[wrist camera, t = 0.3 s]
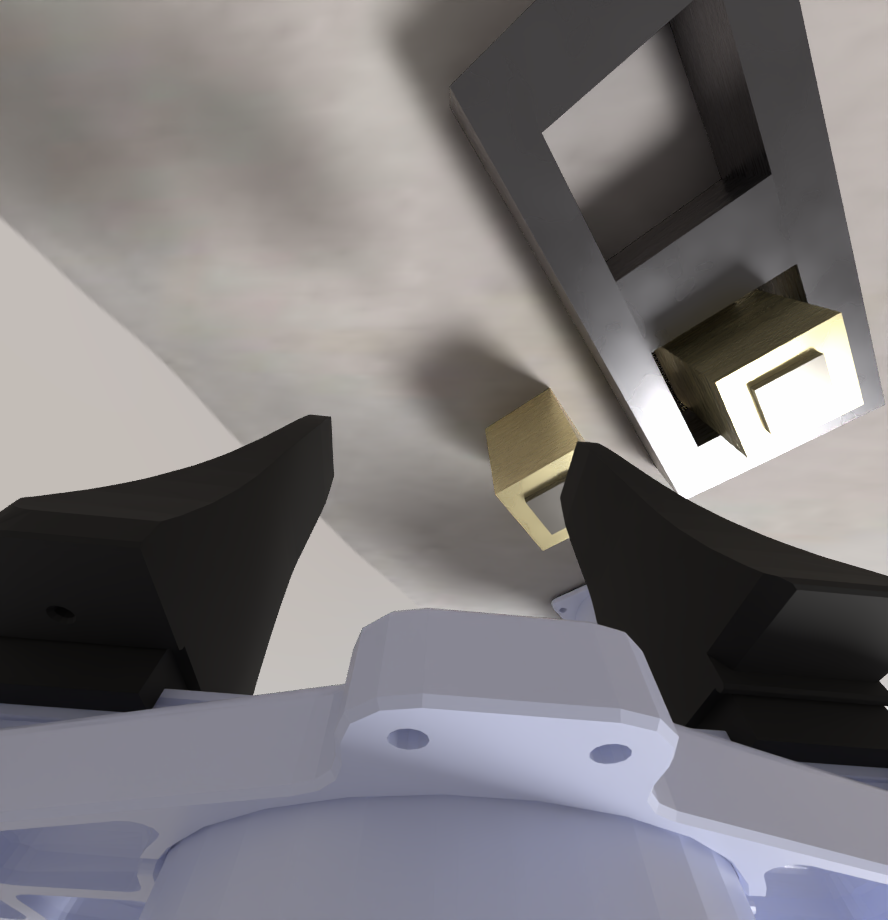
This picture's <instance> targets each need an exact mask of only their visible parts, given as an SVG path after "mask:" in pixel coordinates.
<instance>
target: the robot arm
mask: <svg viewBox="0 0 888 920" xmlns="http://www.w3.org/2000/svg"><path fill="white" fill-rule="evenodd" d="M333 477H334V468H333V447H332V426H331V417H328V416H318V415H308V416H305V417H303V418H300V419H298V420H296V421H294V422H292V423H290V424H288V425H286V426H285V427H283V428H281V429H279V430H277V431H275V432H273V433H271V434H269V435H267V436H265V437H263V438H261V439H259V440H256V441H254V442H252V443H250V444H248V445H245V446H243V447H241V448H239V449H237V450H234V451H232V452H230V453H227V454H225V455H222V456H220V457H217V458H214V459H212V460H209V461H206V462H203V463H200V464H197V465H194V466H191V467H187V468H184V469H180V470H176V471H172V472H169V473H165V474H161V475H158V476H154V477H150V478H146V479H141V480H137V481H132V482H127V483H122V484H117V485H111V486H106V487H100V488H94V489H88V490H81V491H73V492H66V493H58V494H50V495H43V496H34V497H24V498H20V499H18V500H17V501H15V502H14V503H12V504H11V505H9V506H8V507H6V508H5V509H4V510H2V511H1V512H0V920H888V710H887V709H886V708H885V707H884V706H888V690H887V689H886V688H885V687H884V686H883V685H882V684H881V683H880V682H879V680H881V679H882V678H883V677H884V676H885V675H886V674H887V673H888V576H886V575H883V574H880V573H876V572H873V571H869V570H866V569H863V568H859V567H856V566H852V565H849V564H846V563H842V562H839V561H835V560H832V559H829V558H825V557H822V556H819V555H816V554H813V553H810V552H808V551H805V550H802V549H799V548H796V547H793V546H790V545H788V544H785V543H782V542H779V541H777V540H774V539H772V538H769V537H766V536H764V535H761V534H759V533H757V532H754V531H752V530H750V529H747V528H745V527H743V526H740V525H738V524H736V523H733V522H731V521H729V520H727V519H725V518H723V517H720V516H718V515H716V514H714V513H712V512H711V511H709V510H707V509H705V508H703V507H701V506H699V505H697V504H695V503H693V502H691V501H689V500H688V499H686V498H684V497H682V496H681V495H679V494H677V493H676V492H674V491H672V490H671V489H669V488H667V487H666V486H664V485H662V484H661V483H659V482H658V481H656V480H655V479H653V478H652V477H650V476H648V475H647V474H645V473H644V472H642V471H641V470H639V469H638V468H637V467H635V466H634V465H632V464H631V463H629V462H628V461H626V460H625V459H623V458H622V457H620V456H619V455H617V454H616V453H614V452H613V451H611V450H609V449H608V448H606V447H604V446H602V445H600V444H598V443H591V442H581V441H577V443H576V446H575V450H574V453H573V456H572V459H571V463H570V466H569V469H568V472H567V476H566V479H565V482H564V486H563V489H562V492H561V495H560V501H561V507H562V512H563V517H564V522H565V526H566V529H567V532H568V535H569V538H570V541H571V543H572V546H573V549H574V552H575V554H576V557H577V560H578V563H579V565H580V568H581V571H582V574H583V576H584V579H585V582H586V585H584V586H582V587H580V588H578V589H575V590H573V591H571V592H569V593H566V594H564V595H562V596H560V597H557V598H555V599H554V600H553V601H552V603H551V604H552V607H553V609H554V610H555V611H556V612H557V613H558V614H559V616H560V617H561V618H562V619H553V618H541V617H529V616H518V615H506V614H494V613H482V612H470V611H458V610H446V609H434V608H423V609H412V610H401V611H393V612H391V613H389V614H387V615H385V616H383V617H381V618H380V619H378V620H376V621H375V622H373V623H371V624H369V625H367V626H365V627H363V628H362V630H361V633H360V635H359V638H358V640H357V642H356V644H355V647H354V649H353V653H352V657H351V662H350V666H349V670H348V674H347V679H346V683H345V684H340V685H331V686H324V687H316V688H308V689H300V690H293V691H285V692H277V693H270V694H262V695H253V693H254V690H255V686H256V682H257V679H258V676H259V673H260V669H261V666H262V663H263V659H264V656H265V653H266V650H267V646H268V643H269V640H270V636H271V634H272V630H273V627H274V624H275V621H276V618H277V615H278V612H279V609H280V606H281V603H282V600H283V598H284V594H285V592H286V589H287V586H288V583H289V580H290V578H291V575H292V572H293V570H294V568H295V565H296V563H297V561H298V559H299V557H300V555H301V553H302V551H303V549H304V547H305V545H306V543H307V540H308V539H309V537H310V534H311V532H312V530H313V528H314V526H315V524H316V522H317V520H318V518H319V516H320V514H321V512H322V510H323V507H324V505H325V503H326V500H327V497H328V494H329V491H330V487H331V484H332V481H333Z"/></svg>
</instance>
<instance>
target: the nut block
mask: <svg viewBox="0 0 888 920" xmlns="http://www.w3.org/2000/svg"><path fill="white" fill-rule="evenodd" d="M485 432H486V438H487V445H488V451H489V458H490V464H491V471H492V477H493V484H494V490H495V495H496V496H497V498H498V499H499V500H500V501H501V502H502V503H503V505H504V506H505V507H506V508H507V509H508V511H509V512H510V513H511V514H512V515H513V516H514V518H515V519H516V520H517V521H518V522H519V524H520V525H521V526H522V527H523V528H524V529H525V531H526V532H527V533H528V534H529V535H530V536H531V538H532V539H533V540H534V541H535V542H536V544H537V545H538V546H539V547H540V548H541V549H542V551H544V550H546V549H548V548H550V547H552V546H554V545H556V544H558V543H560V542H562V541H564V540H566V539H568V538H569V535H568V532H567V529H566V526H565V522H564V517H563V512H562V507H561V501H560V495H561V492H562V489H563V486H564V482H565V479H566V476H567V472H568V469H569V466H570V463H571V459H572V456H573V453H574V450H575V446H576V443H577V441H581V442H585V441H584V439H583V438H582V436H581V435H580V433H579V432H578V430H577V429H576V427H575V426H574V424H573V423H572V421H571V419H570V418H569V416H568V415H567V413H566V412H565V410H564V409H563V407H562V406H561V404H560V403H559V401H558V400H557V398H556V397H555V395H554V393H553V392H552V390H551V389H550V388H549V389H547V390H546V391H544V392H543V393H541V394H540V395H538V396H536V397H535V398H533V399H532V400H530V401H529V402H527V403H525V404H524V405H522V406H521V407H519V408H518V409H516V410H514V411H513V412H511V413H510V414H508V415H507V416H505V417H503V418H502V419H500V420H499V421H497V422H496V423H494V424H492V425H491V426H489V427H488V428H486V429H485Z"/></svg>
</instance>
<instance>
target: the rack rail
mask: <svg viewBox="0 0 888 920" xmlns="http://www.w3.org/2000/svg"><path fill="white" fill-rule="evenodd" d="M668 22H670V25H671V28H672V31H673V34H674V37H675V40H676V43H677V46H678V49H679V52H680V55H681V58H682V61H683V64H684V67H685V70H686V73H687V76H688V79H689V82H690V85H691V88H692V91H693V94H694V97H695V100H696V103H697V106H698V109H699V112H700V115H701V118H702V121H703V124H704V127H705V130H706V133H707V136H708V139H709V142H710V145H711V148H712V151H713V154H714V157H715V160H716V163H717V166H718V169H719V172H720V175H721V178H722V179H721V180H720V181H719V182H717V183H716V184H714V185H713V186H712V187H710V188H709V189H707V190H706V191H705V192H703V193H702V194H700V195H699V196H698V197H696V198H695V199H693V200H692V201H691V202H689V203H688V204H686V205H685V206H684V207H682V208H681V209H679V210H678V211H677V212H675V213H674V214H672V215H671V216H670V217H668V218H667V219H665V220H664V221H663V222H661V223H660V224H658V225H657V226H656V227H654V228H653V229H651V230H650V231H649V232H647V233H646V234H644V235H643V236H642V237H640V238H639V239H637V240H636V241H635V242H633V243H632V244H630V245H629V246H628V247H626V248H625V249H623V250H622V251H621V252H619V253H618V254H616V255H615V256H614V257H612V258H611V259H609V260H608V261H607V262H605V260H604V258H603V256H602V254H601V252H600V250H599V248H598V246H597V244H596V242H595V240H594V238H593V236H592V234H591V232H590V230H589V228H588V226H587V224H586V222H585V220H584V218H583V216H582V213H581V211H580V209H579V207H578V205H577V203H576V201H575V199H574V197H573V195H572V193H571V191H570V189H569V187H568V185H567V183H566V181H565V179H564V177H563V175H562V173H561V171H560V169H559V167H558V165H557V163H556V161H555V159H554V157H553V155H552V153H551V151H550V149H549V147H548V145H547V143H546V141H545V139H544V137H543V135H542V132H543V131H544V130H545V129H547V128H548V127H549V126H550V125H551V124H552V123H553V122H555V121H556V120H557V119H558V118H559V117H560V116H561V115H563V114H564V113H565V112H566V111H567V110H568V109H569V108H571V107H572V106H573V105H574V104H575V103H576V102H577V101H579V100H580V99H581V98H582V97H583V96H584V95H585V94H587V93H588V92H589V91H590V90H591V89H592V88H593V87H595V86H596V85H597V84H598V83H599V82H600V81H601V80H603V79H604V78H605V77H606V76H607V75H608V74H609V73H611V72H612V71H613V70H614V69H615V68H616V67H617V66H619V65H620V64H621V63H622V62H623V61H624V60H625V59H627V58H628V57H629V56H630V55H631V54H632V53H633V52H635V51H636V50H637V49H638V48H639V47H640V46H641V45H643V44H644V43H645V42H646V41H647V40H648V39H650V38H651V37H652V36H653V35H654V34H655V33H656V32H658V31H659V30H660V29H661V28H662V27H663V26H664V25H666V24H667V23H668ZM450 108H451V110H452V111H453V113H454V115H455V117H456V118H457V120H458V122H459V124H460V125H461V127H462V129H463V131H464V132H465V134H466V136H467V137H468V139H469V141H470V143H471V144H472V146H473V148H474V150H475V151H476V153H477V155H478V157H479V158H480V160H481V162H482V164H483V165H484V167H485V169H486V171H487V172H488V174H489V176H490V178H491V179H492V181H493V183H494V185H495V186H496V188H497V190H498V192H499V193H500V195H501V197H502V199H503V200H504V202H505V204H506V206H507V207H508V209H509V211H510V213H511V214H512V216H513V218H514V220H515V221H516V223H517V225H518V227H519V228H520V230H521V232H522V233H523V235H524V237H525V239H526V240H527V242H528V244H529V246H530V247H531V249H532V251H533V253H534V254H535V256H536V258H537V260H538V261H539V263H540V265H541V267H542V268H543V270H544V272H545V274H546V275H547V277H548V279H549V281H550V282H551V284H552V286H553V288H554V289H555V291H556V293H557V295H558V296H559V298H560V300H561V302H562V303H563V305H564V307H565V309H566V310H567V312H568V314H569V316H570V317H571V319H572V321H573V322H574V324H575V326H576V328H577V329H578V331H579V333H580V335H581V336H582V338H583V340H584V342H585V343H586V345H587V347H588V349H589V350H590V352H591V354H592V356H593V357H594V359H595V361H596V363H597V364H598V366H599V368H600V370H601V371H602V373H603V375H604V377H605V378H606V380H607V382H608V384H609V385H610V387H611V389H612V391H613V392H614V394H615V396H616V398H617V399H618V401H619V403H620V405H621V406H622V408H623V410H624V412H625V413H626V415H627V417H628V418H629V420H630V422H631V424H632V425H633V427H634V429H635V431H636V432H637V434H638V436H639V438H640V439H641V441H642V443H643V445H644V446H645V448H646V450H647V452H648V453H649V455H650V457H651V459H652V460H653V462H654V464H655V466H656V467H657V469H658V470H659V472H660V473H661V474H662V476H663V477H664V478H665V479H666V481H667V482H668V483H669V484H670V486H671V487H672V488H673V490H674V491H675V492H676V493H677V494H679V495H681V496H682V497H684V498H686V499H689V498H691V497H693V496H695V495H697V494H699V493H701V492H703V491H705V490H707V489H710V488H712V487H714V486H716V485H718V484H720V483H722V482H724V481H726V480H728V479H730V478H733V477H735V476H737V475H739V474H741V473H743V472H745V471H747V470H749V469H751V468H753V467H756V466H758V465H760V464H762V463H764V462H766V461H768V460H770V459H772V458H774V457H777V456H779V455H781V454H783V453H785V452H787V451H789V450H791V449H793V448H795V447H797V446H800V445H802V444H804V443H806V442H808V441H810V440H812V439H814V438H816V437H818V436H821V435H823V434H825V433H827V432H829V431H831V430H833V429H835V428H837V427H839V426H841V425H844V424H846V423H848V422H850V421H852V420H854V419H856V418H858V417H860V416H862V415H865V414H867V413H869V412H871V411H873V410H875V409H877V408H879V407H881V406H883V405H885V401H884V396H883V391H882V387H881V382H880V377H879V373H878V368H877V363H876V359H875V354H874V349H873V344H872V340H871V335H870V330H869V326H868V321H867V316H866V312H865V307H864V302H863V298H862V293H861V288H860V283H859V279H858V274H857V269H856V265H855V260H854V255H853V251H852V246H851V241H850V236H849V232H848V227H847V222H846V218H845V213H844V208H843V204H842V199H841V194H840V189H839V185H838V180H837V175H836V171H835V166H834V161H833V157H832V152H831V147H830V142H829V138H828V133H827V128H826V124H825V119H824V114H823V110H822V105H821V100H820V96H819V91H818V86H817V81H816V77H815V72H814V67H813V63H812V58H811V53H810V49H809V44H808V39H807V34H806V30H805V25H804V20H803V16H802V11H801V6H800V2H799V0H536V1H535V2H534V3H533V4H532V5H531V6H530V7H529V8H528V9H527V10H526V11H525V12H524V13H523V14H522V15H521V16H520V17H519V18H518V19H517V20H516V21H515V22H514V23H513V24H512V25H511V26H510V27H509V28H508V29H507V30H506V31H505V32H504V33H503V34H502V35H501V36H500V37H499V38H498V39H497V40H496V41H495V42H494V43H493V44H492V45H491V46H490V47H489V48H488V49H487V50H486V51H485V52H484V53H483V54H482V55H481V56H480V57H479V58H478V59H477V60H476V61H475V62H474V63H473V64H472V65H471V66H470V67H469V68H468V69H467V70H466V71H465V72H464V73H463V74H462V75H461V76H460V77H459V78H458V79H457V80H456V81H455V82H454V83H453V84H452V85H451V86H450ZM756 288H758V289H759V290H760V291H764V292H768V293H772V294H775V295H779V296H783V297H786V298H790V299H794V300H798V301H801V302H805V303H809V304H812V305H816V306H820V307H824V308H827V309H831V310H835V311H838V312H841V313H842V317H843V321H844V325H845V329H846V333H847V337H848V342H849V346H850V350H851V354H852V358H853V362H854V366H855V370H856V374H857V378H858V383H859V387H860V391H861V395H862V399H863V403H864V404H863V405H861V406H859V407H857V408H855V409H853V410H851V411H848V412H846V413H844V414H842V415H840V416H838V417H836V418H834V419H832V420H830V421H828V422H826V423H824V424H822V425H820V426H818V427H816V428H813V429H811V430H809V431H807V432H805V433H803V434H801V435H799V436H797V437H795V438H793V439H791V440H789V441H787V442H785V443H783V444H780V445H778V446H776V447H774V448H772V449H770V450H768V451H766V452H764V453H762V454H760V455H758V456H756V457H754V458H752V459H750V460H749V459H747V458H746V457H745V456H744V455H743V454H742V453H740V452H739V451H738V450H737V449H736V448H735V447H733V446H732V445H731V444H730V443H729V442H727V441H726V440H725V439H724V438H723V437H722V436H720V435H719V434H718V433H717V432H716V431H715V430H713V429H712V428H711V427H710V426H709V425H707V424H706V423H705V422H704V421H703V420H702V419H700V418H699V417H698V416H697V415H696V414H694V413H693V412H692V411H691V410H690V409H689V408H688V409H687V410H685V411H683V412H681V413H680V411H679V409H678V407H677V405H676V403H675V401H674V399H673V397H672V395H671V393H670V391H669V389H668V387H667V385H666V383H665V381H664V379H663V377H662V374H661V372H660V370H659V368H658V366H657V364H656V362H655V360H654V358H653V356H652V354H651V353H652V352H654V351H655V350H657V349H658V348H660V347H662V346H663V345H665V344H667V343H668V342H670V341H672V340H673V339H675V338H676V337H678V336H680V335H681V334H683V333H685V332H686V331H688V330H689V329H691V328H693V327H694V326H696V325H698V324H699V323H701V322H703V321H704V320H706V319H707V318H709V317H711V316H712V315H714V314H716V313H717V312H719V311H720V310H722V309H724V308H725V307H727V306H729V305H730V304H732V303H734V302H735V301H737V300H738V299H740V298H742V297H743V296H745V295H747V294H748V293H750V292H751V291H753V290H755V289H756Z"/></svg>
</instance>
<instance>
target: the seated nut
mask: <svg viewBox="0 0 888 920" xmlns="http://www.w3.org/2000/svg"><path fill="white" fill-rule="evenodd" d="M654 352H655V354H656V356H657V358H658V360H659V362H660V364H661V366H662V368H663V370H664V372H665V374H666V376H667V378H668V380H669V382H670V384H671V387H672V389H673V391H674V393H675V395H676V397H677V399H678V400H679V401H680V402H682V403H683V404H684V405H685V406H686V407H687V408H689V409H690V410H691V411H692V412H693V413H694V414H696V415H697V416H698V417H699V418H700V419H702V420H703V421H704V422H705V423H706V424H707V425H709V426H710V427H711V428H712V429H713V430H715V431H716V432H717V433H718V434H719V435H720V436H722V437H723V438H724V439H725V440H726V441H727V442H729V443H730V444H731V445H732V446H733V447H735V448H736V449H737V450H738V451H739V452H740V453H742V454H743V455H744V456H745V457H746V458H747V459H749V460H750V459H752V458H754V457H756V456H758V455H760V454H762V453H764V452H766V451H768V450H770V449H772V448H774V447H776V446H778V445H780V444H783V443H785V442H787V441H789V440H791V439H793V438H795V437H797V436H799V435H801V434H803V433H805V432H807V431H809V430H811V429H813V428H816V427H818V426H820V425H822V424H824V423H826V422H828V421H830V420H832V419H834V418H836V417H838V416H840V415H842V414H844V413H846V412H848V411H851V410H853V409H855V408H857V407H859V406H861V405H863V404H864V403H863V399H862V395H861V391H860V387H859V383H858V378H857V374H856V370H855V366H854V362H853V358H852V354H851V350H850V346H849V342H848V337H847V333H846V329H845V325H844V321H843V317H842V313H841V312H838V311H835V310H831V309H827V308H824V307H820V306H816V305H812V304H809V303H805V302H801V301H798V300H794V299H790V298H786V297H783V296H779V295H775V294H772V293H768V292H764V291H760V290H757V289H755V290H753V291H751V292H750V293H748V294H747V295H745V296H743V297H742V298H740V299H738V300H737V301H735V302H734V303H732V304H730V305H729V306H727V307H725V308H724V309H722V310H720V311H719V312H717V313H716V314H714V315H712V316H711V317H709V318H707V319H706V320H704V321H703V322H701V323H699V324H698V325H696V326H694V327H693V328H691V329H689V330H688V331H686V332H685V333H683V334H681V335H680V336H678V337H676V338H675V339H673V340H672V341H670V342H668V343H667V344H665V345H663V346H662V347H660V348H658V349H657V350H655V351H654Z"/></svg>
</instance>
